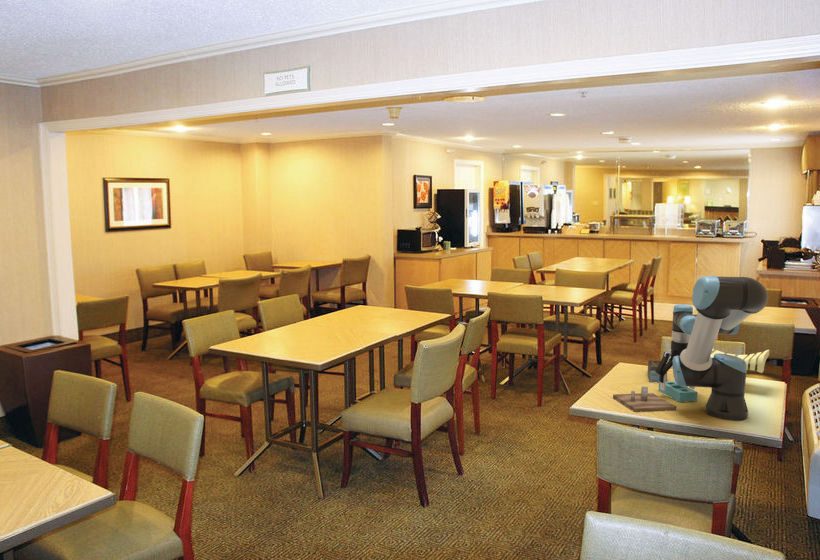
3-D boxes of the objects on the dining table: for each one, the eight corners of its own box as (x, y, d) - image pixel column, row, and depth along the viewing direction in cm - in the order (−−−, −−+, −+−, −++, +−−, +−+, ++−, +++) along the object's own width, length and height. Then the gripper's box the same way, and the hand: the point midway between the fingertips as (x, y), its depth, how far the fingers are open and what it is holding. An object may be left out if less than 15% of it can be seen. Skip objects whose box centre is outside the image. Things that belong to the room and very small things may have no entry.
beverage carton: (648, 382, 294) (649, 368, 293) (647, 372, 312) (647, 358, 311) (666, 384, 291) (667, 370, 291) (664, 373, 309) (665, 360, 309)
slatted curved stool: (686, 383, 292) (688, 345, 290) (695, 376, 305) (697, 339, 302) (759, 396, 274) (763, 356, 272) (766, 388, 287) (769, 349, 284)
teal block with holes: (696, 401, 266) (697, 392, 266) (679, 402, 265) (680, 392, 265) (675, 390, 282) (675, 381, 282) (658, 390, 281) (658, 381, 280)
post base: (676, 410, 255) (677, 393, 254) (634, 412, 252) (635, 394, 251) (652, 396, 273) (653, 380, 272) (612, 398, 270) (613, 381, 269)
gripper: (702, 337, 276) (698, 385, 279) (648, 339, 272) (645, 387, 275) (713, 342, 269) (709, 390, 272) (658, 344, 265) (655, 393, 268)
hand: (677, 389), depth 274 cm, fingers open, 13 cm apart
